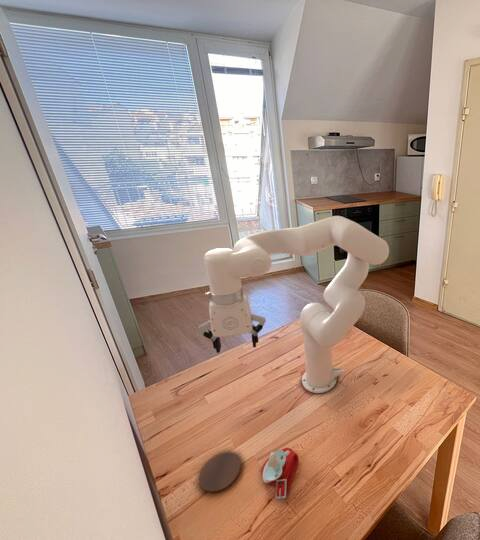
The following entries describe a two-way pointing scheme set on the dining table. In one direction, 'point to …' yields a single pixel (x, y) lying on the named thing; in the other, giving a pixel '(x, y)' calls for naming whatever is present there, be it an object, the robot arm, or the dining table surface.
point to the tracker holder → (285, 473)
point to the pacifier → (274, 466)
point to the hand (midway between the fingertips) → (237, 346)
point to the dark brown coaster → (220, 472)
